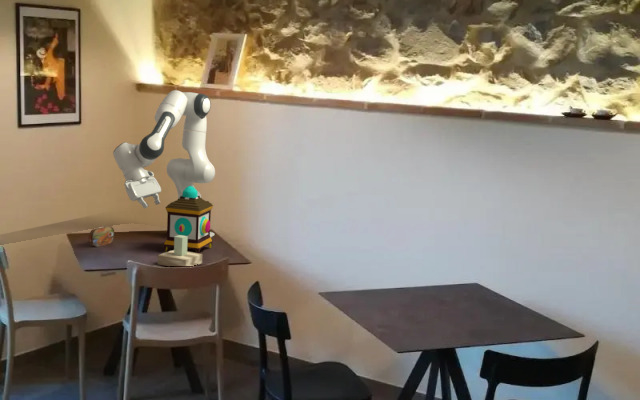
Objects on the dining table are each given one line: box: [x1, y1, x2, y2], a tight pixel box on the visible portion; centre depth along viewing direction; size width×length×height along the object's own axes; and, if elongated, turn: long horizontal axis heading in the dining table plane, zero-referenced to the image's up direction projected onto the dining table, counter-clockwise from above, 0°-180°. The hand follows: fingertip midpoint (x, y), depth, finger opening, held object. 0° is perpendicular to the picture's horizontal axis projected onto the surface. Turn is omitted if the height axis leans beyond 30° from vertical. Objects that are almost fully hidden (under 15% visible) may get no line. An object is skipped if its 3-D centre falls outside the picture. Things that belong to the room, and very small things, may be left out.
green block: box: [173, 235, 188, 256], centre depth 331 cm, size 4×4×8 cm
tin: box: [88, 225, 116, 248], centre depth 356 cm, size 15×3×8 cm, turn 154°
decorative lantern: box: [163, 186, 214, 254], centre depth 355 cm, size 20×20×30 cm
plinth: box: [157, 249, 204, 267], centre depth 332 cm, size 13×14×4 cm
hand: (152, 205), depth 333 cm, fingers open, 8 cm apart
